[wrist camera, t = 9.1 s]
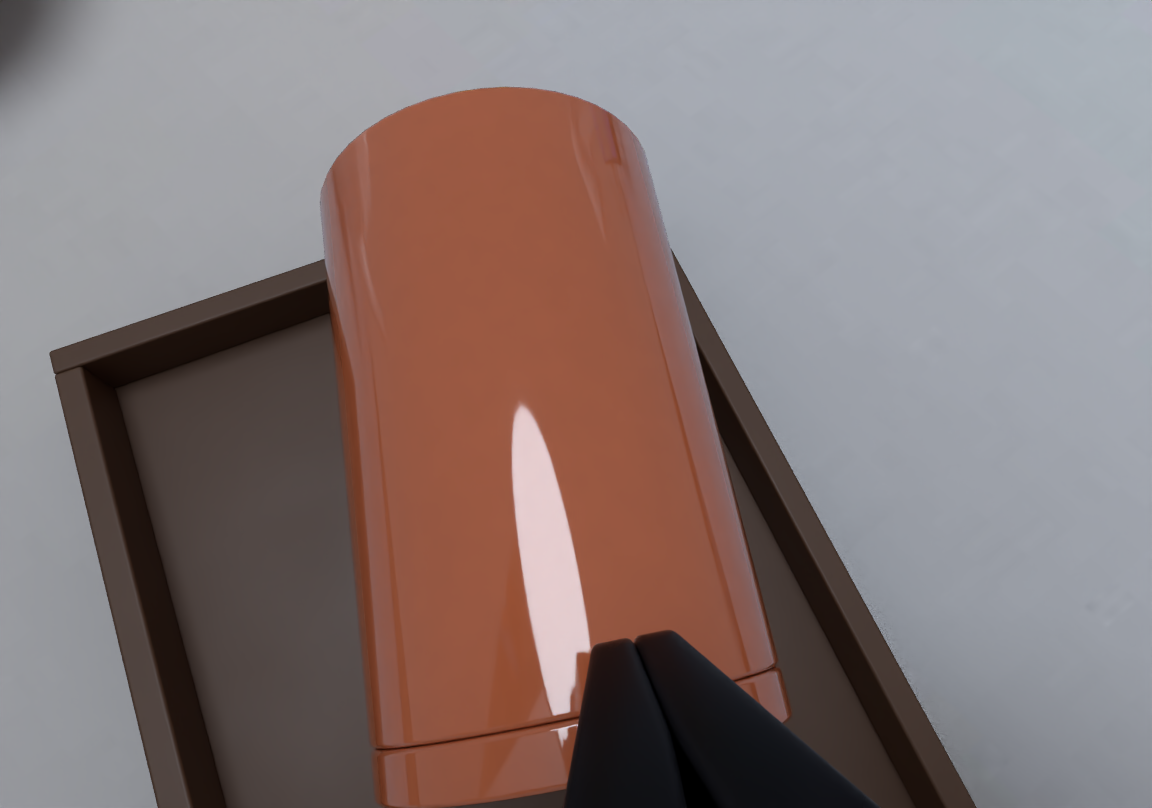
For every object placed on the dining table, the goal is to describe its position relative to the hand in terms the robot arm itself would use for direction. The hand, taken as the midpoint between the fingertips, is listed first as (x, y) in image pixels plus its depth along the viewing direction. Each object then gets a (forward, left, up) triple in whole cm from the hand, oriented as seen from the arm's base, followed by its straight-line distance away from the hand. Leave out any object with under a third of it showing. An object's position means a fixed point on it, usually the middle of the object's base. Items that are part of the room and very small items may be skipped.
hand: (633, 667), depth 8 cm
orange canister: (-1, +1, -6) cm, 6 cm away
